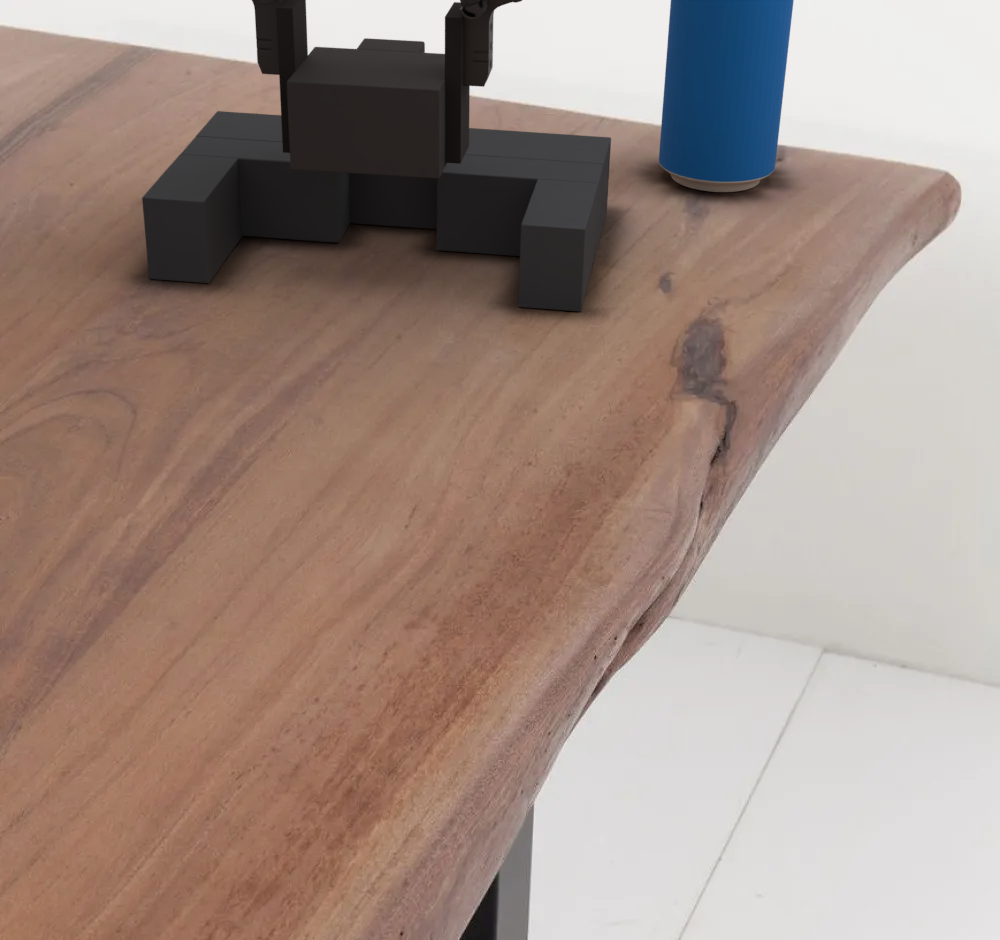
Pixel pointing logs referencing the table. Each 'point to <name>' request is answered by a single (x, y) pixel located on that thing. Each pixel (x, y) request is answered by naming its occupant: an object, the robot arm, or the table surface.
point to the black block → (369, 110)
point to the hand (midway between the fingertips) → (376, 148)
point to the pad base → (386, 203)
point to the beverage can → (724, 91)
